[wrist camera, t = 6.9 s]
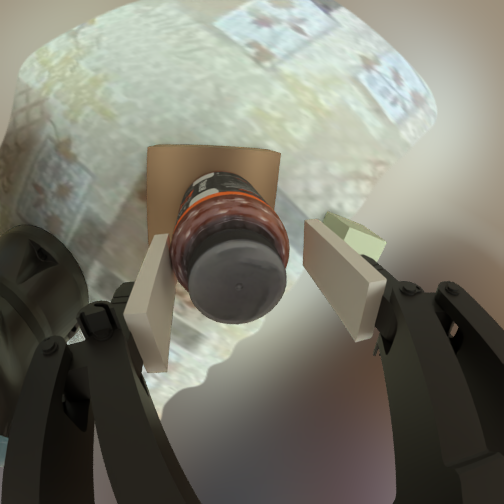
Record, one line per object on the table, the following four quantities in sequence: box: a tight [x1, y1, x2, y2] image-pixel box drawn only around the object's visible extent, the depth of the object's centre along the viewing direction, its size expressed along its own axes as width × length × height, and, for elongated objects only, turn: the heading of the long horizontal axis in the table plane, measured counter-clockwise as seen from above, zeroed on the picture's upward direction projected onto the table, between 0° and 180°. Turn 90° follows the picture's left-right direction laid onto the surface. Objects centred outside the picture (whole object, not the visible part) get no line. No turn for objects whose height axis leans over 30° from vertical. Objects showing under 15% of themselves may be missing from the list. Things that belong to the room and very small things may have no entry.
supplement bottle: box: [170, 171, 289, 324], centre depth 16 cm, size 6×6×11 cm
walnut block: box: [147, 145, 281, 247], centre depth 23 cm, size 10×10×5 cm
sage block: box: [323, 211, 387, 262], centre depth 27 cm, size 5×5×5 cm
